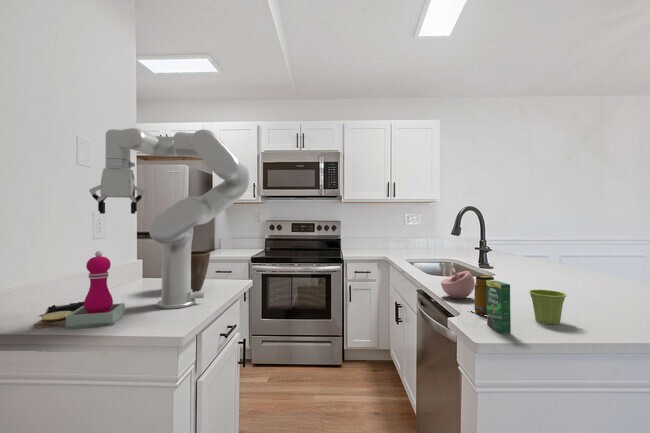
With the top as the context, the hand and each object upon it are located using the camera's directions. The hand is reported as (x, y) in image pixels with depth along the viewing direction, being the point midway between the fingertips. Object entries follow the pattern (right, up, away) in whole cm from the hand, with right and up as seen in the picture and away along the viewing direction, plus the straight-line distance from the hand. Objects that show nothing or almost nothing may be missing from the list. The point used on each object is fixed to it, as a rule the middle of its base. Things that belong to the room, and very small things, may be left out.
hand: (117, 213), depth 119 cm
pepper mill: (+6, -32, -19) cm, 37 cm away
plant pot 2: (+140, -33, -20) cm, 145 cm away
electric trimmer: (-10, -33, -8) cm, 35 cm away
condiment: (+126, -33, -11) cm, 130 cm away
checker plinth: (-5, -32, -21) cm, 39 cm away
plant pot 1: (+17, -33, +23) cm, 43 cm away
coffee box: (+122, -33, -26) cm, 129 cm away
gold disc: (-5, -33, -21) cm, 39 cm away
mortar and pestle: (+125, -33, +10) cm, 129 cm away
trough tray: (+6, -32, -19) cm, 38 cm away
